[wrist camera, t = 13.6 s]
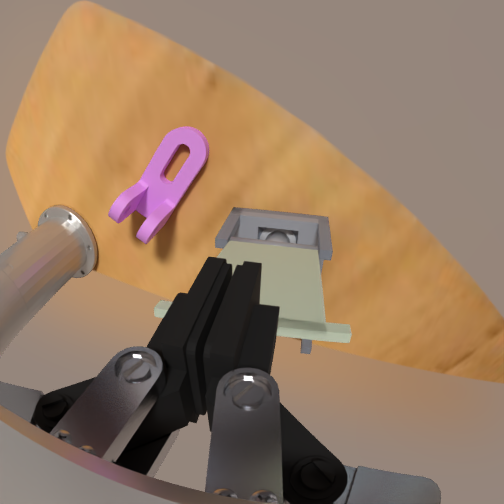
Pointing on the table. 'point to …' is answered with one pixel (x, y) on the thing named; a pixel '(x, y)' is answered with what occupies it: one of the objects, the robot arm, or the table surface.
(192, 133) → the bracket
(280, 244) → the lid
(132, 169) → the table surface
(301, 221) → the housing
